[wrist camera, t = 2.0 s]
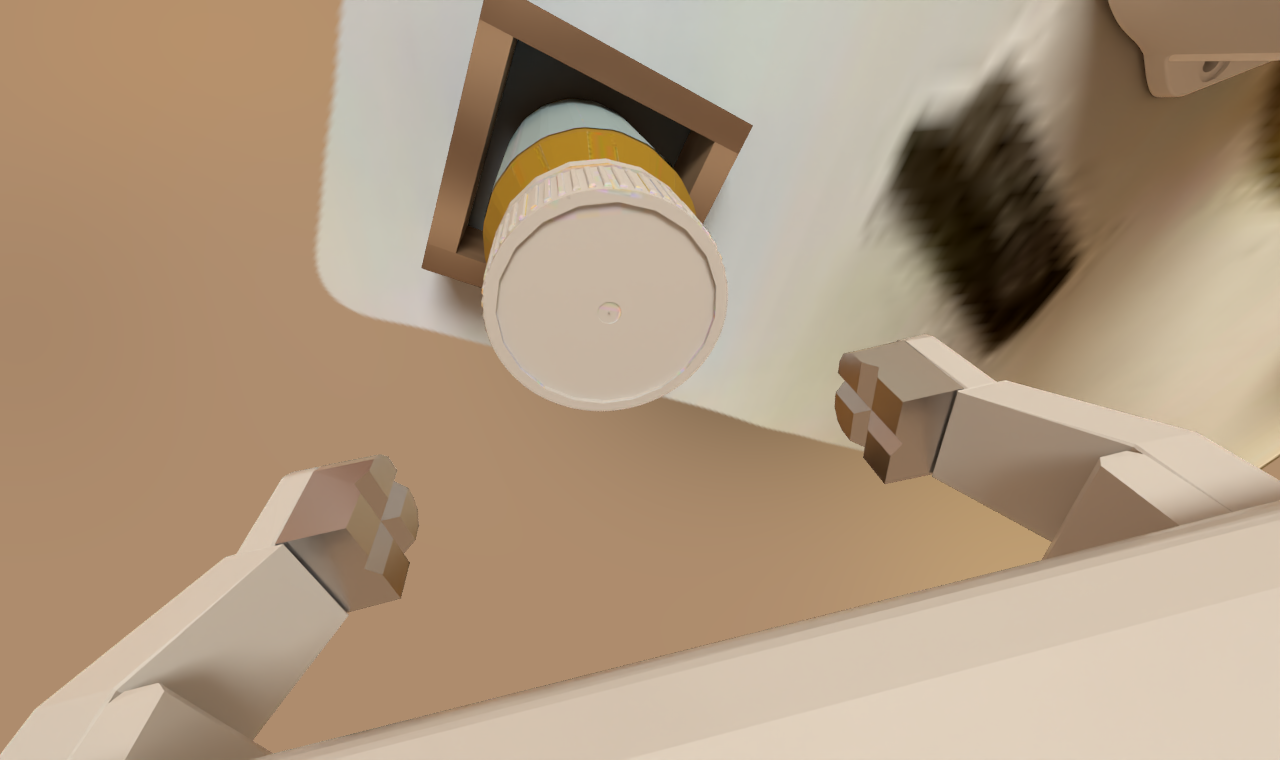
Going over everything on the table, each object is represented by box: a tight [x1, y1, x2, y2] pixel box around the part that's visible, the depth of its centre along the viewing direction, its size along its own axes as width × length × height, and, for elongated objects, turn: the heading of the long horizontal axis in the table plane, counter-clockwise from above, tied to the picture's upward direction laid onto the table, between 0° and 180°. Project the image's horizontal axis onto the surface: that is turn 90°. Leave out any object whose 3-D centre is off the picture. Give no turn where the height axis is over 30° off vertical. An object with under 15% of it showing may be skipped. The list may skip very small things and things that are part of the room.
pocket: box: [422, 0, 753, 288], centre depth 23 cm, size 11×11×4 cm
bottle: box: [481, 98, 728, 411], centre depth 18 cm, size 7×7×15 cm
